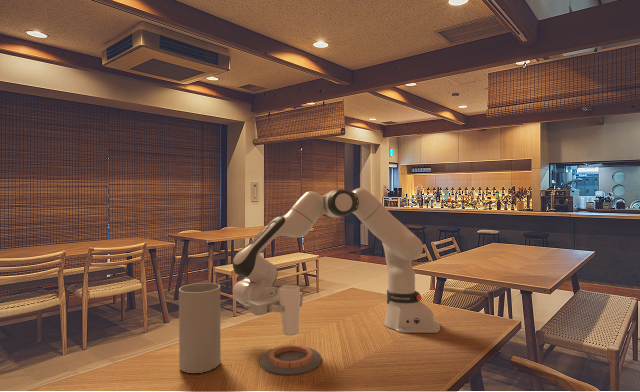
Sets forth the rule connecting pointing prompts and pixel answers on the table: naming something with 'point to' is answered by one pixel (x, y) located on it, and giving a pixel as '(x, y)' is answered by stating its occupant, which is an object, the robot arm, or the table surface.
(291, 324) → the drinking glass
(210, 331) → the cylinder vase
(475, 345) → the table surface
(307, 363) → the round tray
